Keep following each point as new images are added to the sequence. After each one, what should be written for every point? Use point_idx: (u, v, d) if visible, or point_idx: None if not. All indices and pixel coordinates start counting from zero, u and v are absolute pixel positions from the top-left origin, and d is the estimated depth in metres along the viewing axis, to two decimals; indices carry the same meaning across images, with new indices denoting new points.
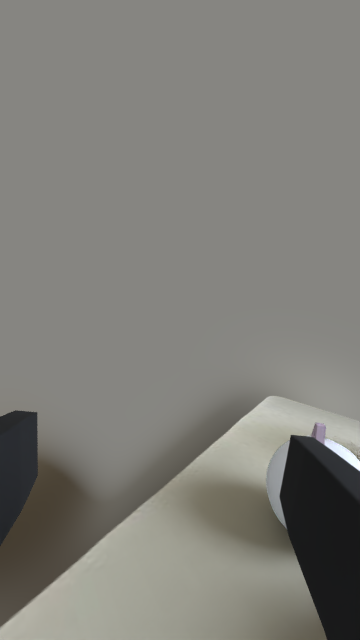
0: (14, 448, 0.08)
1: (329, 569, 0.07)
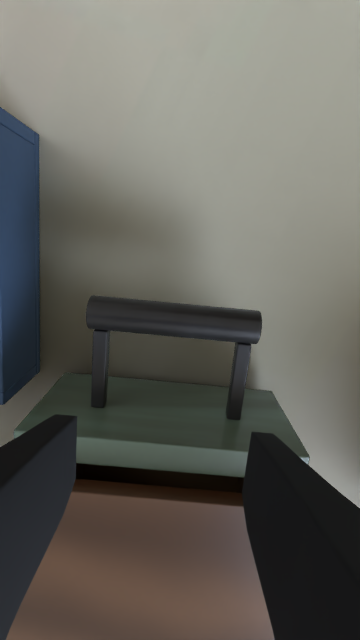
0: (60, 452, 0.08)
1: (276, 565, 0.07)
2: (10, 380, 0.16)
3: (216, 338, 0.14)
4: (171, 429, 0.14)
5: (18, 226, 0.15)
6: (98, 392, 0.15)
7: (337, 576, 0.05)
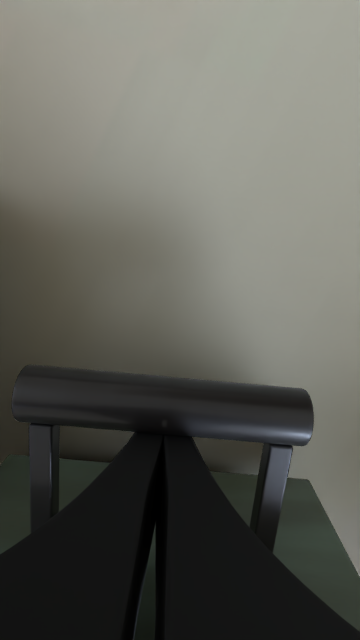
0: (159, 461, 0.08)
1: (159, 555, 0.07)
2: None
3: (235, 439, 0.08)
4: None
5: None
6: (41, 519, 0.09)
7: (165, 561, 0.05)
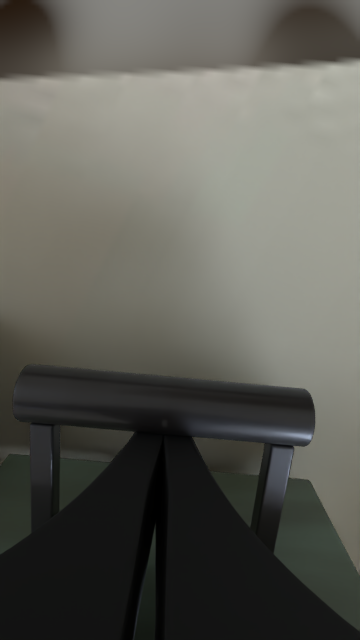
0: (159, 461, 0.08)
1: (159, 555, 0.07)
2: None
3: (236, 439, 0.08)
4: None
5: None
6: (42, 519, 0.09)
7: (165, 561, 0.05)
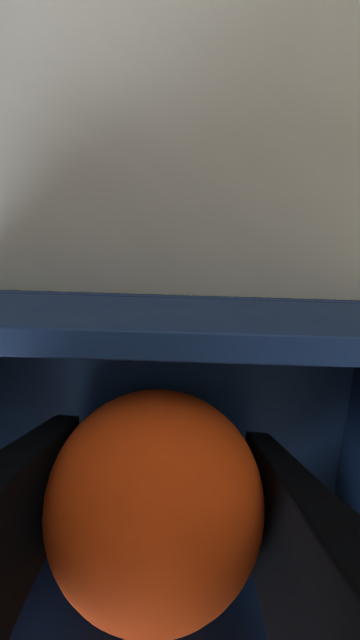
0: None
1: (269, 564, 0.07)
2: None
3: None
4: None
5: None
6: None
7: (326, 575, 0.05)
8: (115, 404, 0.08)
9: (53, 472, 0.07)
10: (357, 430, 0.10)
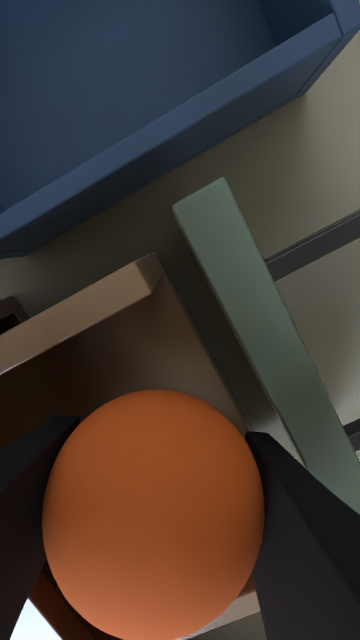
0: None
1: (268, 564, 0.07)
2: None
3: None
4: None
5: (202, 137, 0.10)
6: (283, 267, 0.09)
7: (326, 576, 0.05)
8: (115, 404, 0.08)
9: (53, 472, 0.07)
10: None
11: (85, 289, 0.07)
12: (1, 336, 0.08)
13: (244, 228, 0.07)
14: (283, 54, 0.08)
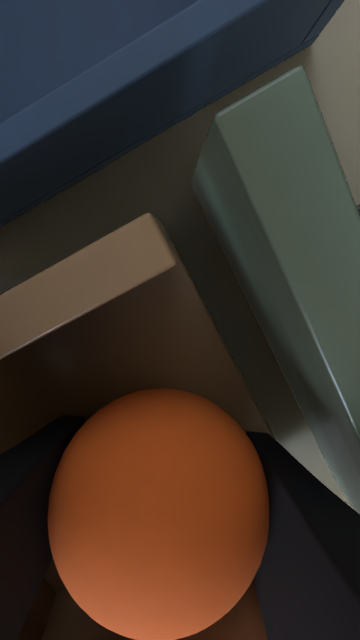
0: None
1: (269, 564, 0.07)
2: None
3: None
4: None
5: (178, 92, 0.08)
6: None
7: (327, 575, 0.05)
8: (120, 403, 0.08)
9: (58, 473, 0.07)
10: None
11: (71, 257, 0.05)
12: None
13: (331, 155, 0.04)
14: None
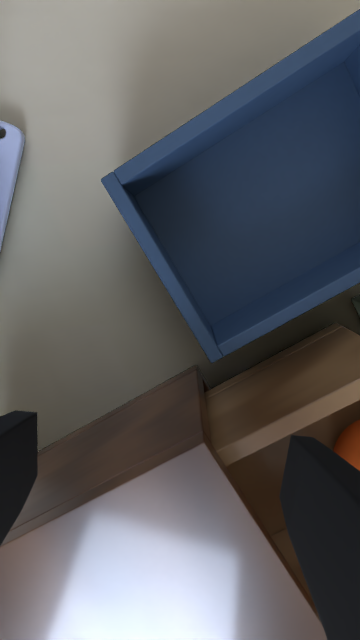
0: (14, 448, 0.08)
1: (329, 569, 0.07)
2: None
3: None
4: None
5: None
6: None
7: None
8: None
9: None
10: None
11: None
12: (313, 403, 0.12)
13: None
14: None
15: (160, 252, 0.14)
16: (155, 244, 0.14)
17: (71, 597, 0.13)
